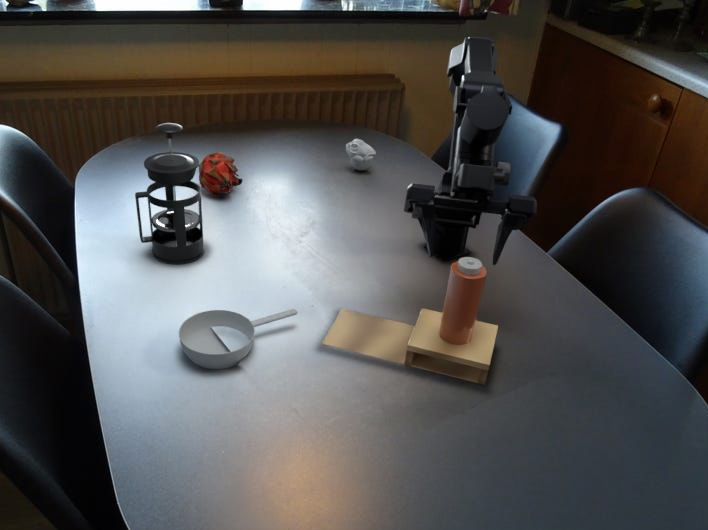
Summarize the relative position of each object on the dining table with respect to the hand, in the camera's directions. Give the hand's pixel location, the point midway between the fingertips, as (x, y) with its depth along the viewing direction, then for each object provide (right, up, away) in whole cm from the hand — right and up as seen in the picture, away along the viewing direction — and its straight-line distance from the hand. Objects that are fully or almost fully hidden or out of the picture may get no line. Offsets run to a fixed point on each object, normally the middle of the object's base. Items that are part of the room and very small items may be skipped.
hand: (462, 260), depth 99 cm
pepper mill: (-1, -11, -1) cm, 11 cm away
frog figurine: (-12, +26, +58) cm, 65 cm away
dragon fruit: (-42, +18, +44) cm, 64 cm away
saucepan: (-33, -12, +1) cm, 35 cm away
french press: (-47, +3, +23) cm, 52 cm away
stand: (-8, -13, +3) cm, 15 cm away
